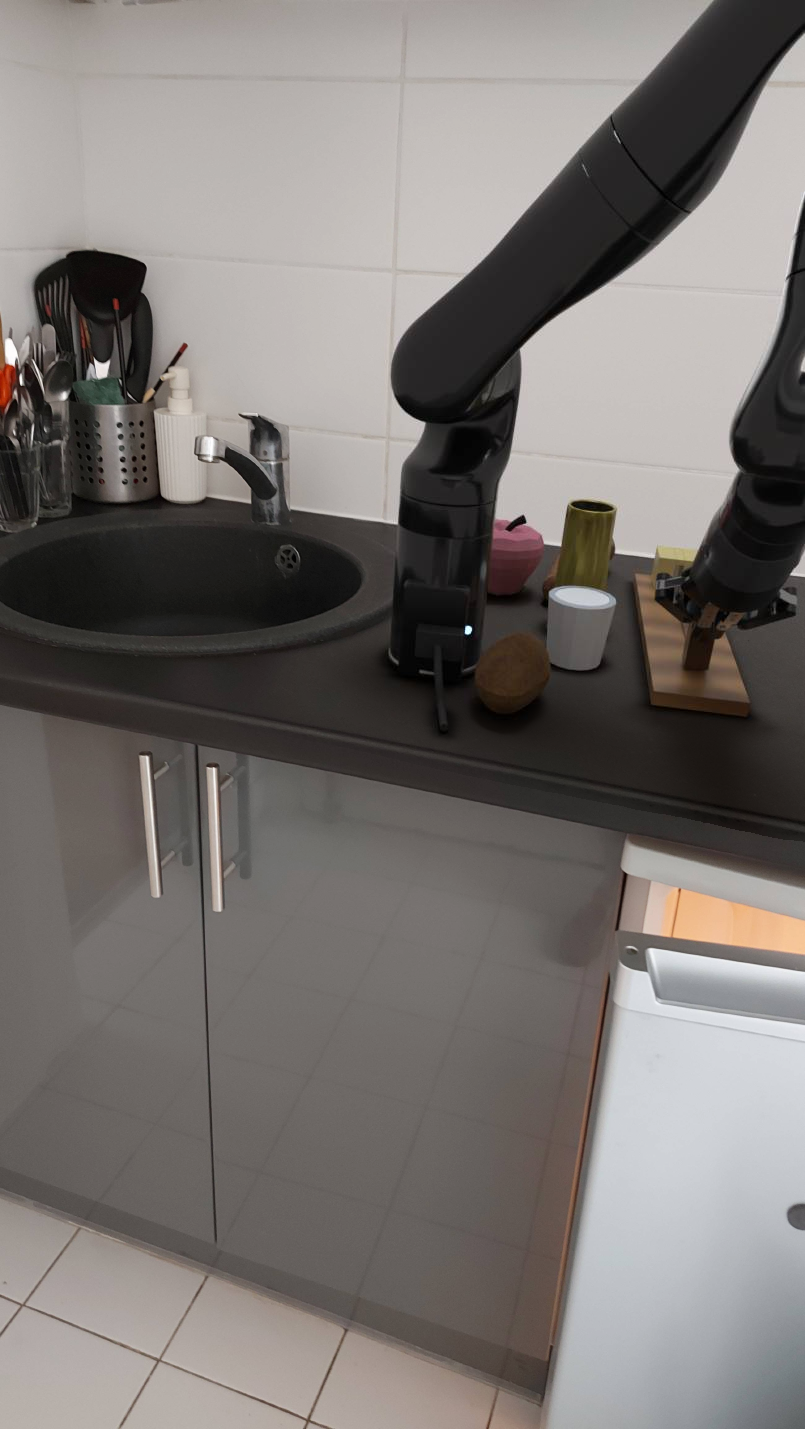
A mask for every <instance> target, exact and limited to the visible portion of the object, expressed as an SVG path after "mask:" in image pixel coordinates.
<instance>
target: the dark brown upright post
mask: <svg viewBox="0 0 805 1429" xmlns="http://www.w3.org/2000/svg"><path fill="white" fill-rule="evenodd" d="M683 627H684V631H685V635H686V640H685V645H684V650H683V655H682V661H683V665H684V668H692V669H701V670H708V669H709V664H710V660H711V655H712V651H713V646H714V642H715V639H714V641H713V643H704V642H697V641H696V639H697V637H693V636H692V634H691V633H692V623H683Z"/></svg>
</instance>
